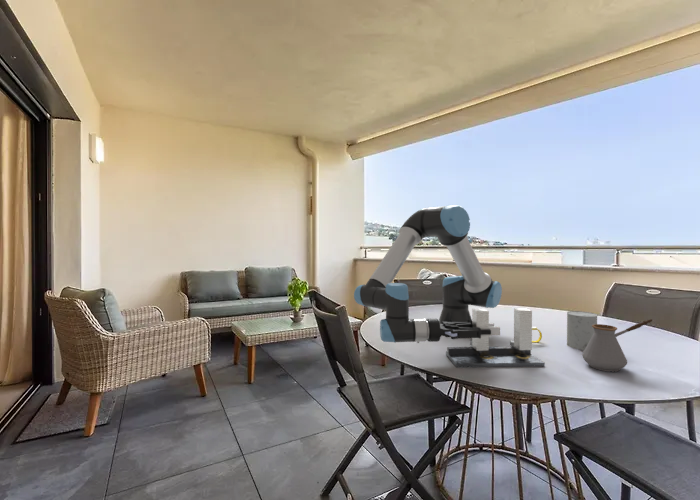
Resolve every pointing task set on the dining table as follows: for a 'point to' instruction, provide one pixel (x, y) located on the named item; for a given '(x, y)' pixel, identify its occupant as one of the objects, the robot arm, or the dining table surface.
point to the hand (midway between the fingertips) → (496, 329)
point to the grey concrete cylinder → (580, 328)
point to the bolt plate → (492, 357)
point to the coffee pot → (607, 348)
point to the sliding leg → (478, 320)
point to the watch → (540, 334)
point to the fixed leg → (522, 330)
